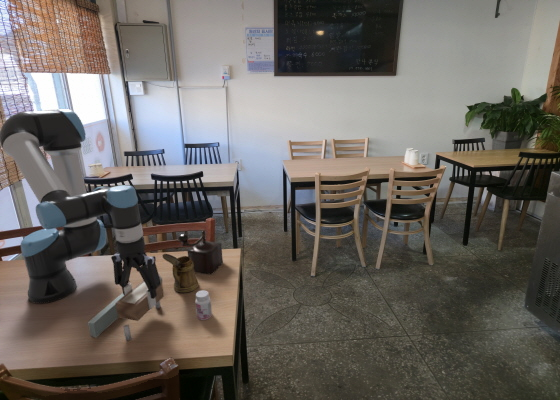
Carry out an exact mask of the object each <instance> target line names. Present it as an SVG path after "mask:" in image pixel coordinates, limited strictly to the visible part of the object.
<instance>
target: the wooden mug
mask: <svg viewBox="0 0 560 400" xmlns="http://www.w3.org/2000/svg"><path fill="white" fill-rule="evenodd" d="M161 256H162V258H163V259H164V260H165V261H166V262H168V263H169V264H171V265H172V277H173V279H174V282H173V290H174V291H175V292H178V293H181V294H186V293H187V294H188V293H191V292H192V291H195V290H197V288H198V286H199V281H198V278H197V275H196V272H195V271H194V264H193V261H192V259H191V257H188V255H182V256H180V257H176V256H174V255H171V254H168V253H163V254H162V255H161Z"/></svg>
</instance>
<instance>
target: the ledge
mask: <svg viewBox="0 0 560 400" xmlns="http://www.w3.org/2000/svg"><path fill="white" fill-rule="evenodd" d="M123 296H125V295H124V294H123V292H122V293H121V294H120V295H118V296H117V297H116V298H115V299H113V300H112V301H111V302H110V303H109V304H108V305H107V306H106V307H104V308H103V309H101V311H99V312H98V313H97V314H96V315H95V316H94V317H92V318H91V319H90V320H89V321H88V322H87V325H88V329H89V333H90V337H93V338H98V337H99V336H100V335H101V334H102V333H103V332H104V331H105V330H106V329H107V328H108V327H109V326H110V325H111V324H113V323H114V322H115V321H116V320H117V319H118V318H119V317H118V314H117V309H116V304H115V303H116V302H117V301H118V300H120V299H121V298H122V297H123ZM154 307H155V309H161V300H160V301H158V302H157V303H156V305H155V306H154ZM123 332H124V338H125V341H130V340H132V333H131V328H130V325H129V324H125V325H123Z"/></svg>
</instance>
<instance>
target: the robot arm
mask: <svg viewBox="0 0 560 400" xmlns="http://www.w3.org/2000/svg"><path fill="white" fill-rule="evenodd" d="M86 138H87V137H86V131H85V126H84V124H83V122H82V120H81V119H80V117H79V116H78V114H77V113H76V112H75V111H73V110H72V109H60V108H59V109H48V110H35V111H34V110H32V111H22V112H21V111H20V112H17V113H15V114H13V115H11V116H10V117H8V118H7V119H6V120H5V121H4V123H3V124H2V125H1V128H0V146H1V148H2V150H3V151H4V153H5V154H6V155H8V156H9V157H11V158H12V159H13V161H14V162H15V164H16V166H17V167H18V169H19V171H20V172H21V174H22V175H23V178H24V179H25V181H26V182H27V184H28V186H29V188H30V189H31V191H32V192H33V194H34V196H35V197H36V199H37V201H38V202H39V203H38V204H36V206H35V214H36V218H37V220H38V222H39V224H40V226H41V227H42V229H39V230H36V231H33V232H31V233H30V234H28V235H26V236H25V237H24V238H22V240H21V241H20V250H21V255H22V257H23V261H24V264H25V268H26V271H27V274H28V275H27V276H28V279H29V280H28V281H29V282H28V290H27V296H28V300H29V301H30V302H31V303H33V304H48V303H53V302H56V301H58V300H61V299H63V298H66V297H67V296H69V295H71V294H72V293H73V292H74V291H75V290H76V288H77V281H76V278H74V276H73V274H72V273H71V272H70V270H69V269H68V268H67V264H66V262H67V261H70V260H71V261H72V260H74V259H76V258H79V257H80V258H81V257H83V256H86V255H89V254H92V253H95V252H98V251H99V250H102V249H103V248H104V247H105V245H106V242H107V232H106V228H105V225H104V223H103V222H102V220H101V219H98V217H101V216H105V215H109V216H110V217H111V222H112V223H111V224H112V227H113V228H112V229H113V232H114V237H115V243H116V244H115V245H116V249H117V252H116V253H115V254H113V255H112V256H111V257H110V258H111V261H112V264H113V274H114V275H113V276H114V284H115V285H117V286H118V285H119V286H120V287H121V290H122V293H123V294H124V295H126V294H127V293H128V292H130V291H131V290H132V289H133V285H132V282H131V281H130V278H131V277H130V276H131V273H132V272H131V271H132V268H134V269H135V270H136V272H138V273H139V275H140V276H141V278H142V281H143V280H144V282H145V284H146V286H147V288H148V289H147V290H146V293H147V299H148V304H149V309H150V310H152V309H153V308H154V307H156V306H155V305H156V299H155V297H156V296H157V293H156V289H157V288H158V287H159V286H160V285H161V283H162V281H160V278H159V275H160V274H159V271H158V268H157V267H158V266H157V265H156V259H157V257H156V256H155V255H152V256H149V255H147V253H146V252H145V248H146V244H145V239H144V236H143V235H144V231H143V226H142V221H141V215H140V208H139V207H140V206H139V198H138V196H137V192H136V189H135V187H134V186H133V185H125V184H123V185H115V186H113V187H110V186H98V187H95V188H94V189H93V190H91V191H90V192H89V191H88V192H87V188H86V184H85V180H84V179H85V178H84V174H83V169H82V165H81V160H80V155H79V152H80V150H81V149H82V143H83V142H84V141H85V140H86ZM41 147H42V149H43V152H44V153H45V154H47V155H49V157H50V161H51V164H52V165H51V164H50V162H49V160H48V159H47V158H46V156H45V154H44V153H43V152H42V149H41ZM58 228H62V229H59V230H58ZM145 261H146V262H145Z"/></svg>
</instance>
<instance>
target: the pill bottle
mask: <svg viewBox="0 0 560 400" xmlns="http://www.w3.org/2000/svg"><path fill="white" fill-rule="evenodd" d="M211 302H212V301H211V297H210V295H209V291H207V290H198V291H197V292H196V293H195V311H196V317H197V319H199V320H201V321H205V320H208V319H210V318H211V317H212V315H213V314H212V313H213V312H212V303H211Z"/></svg>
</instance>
